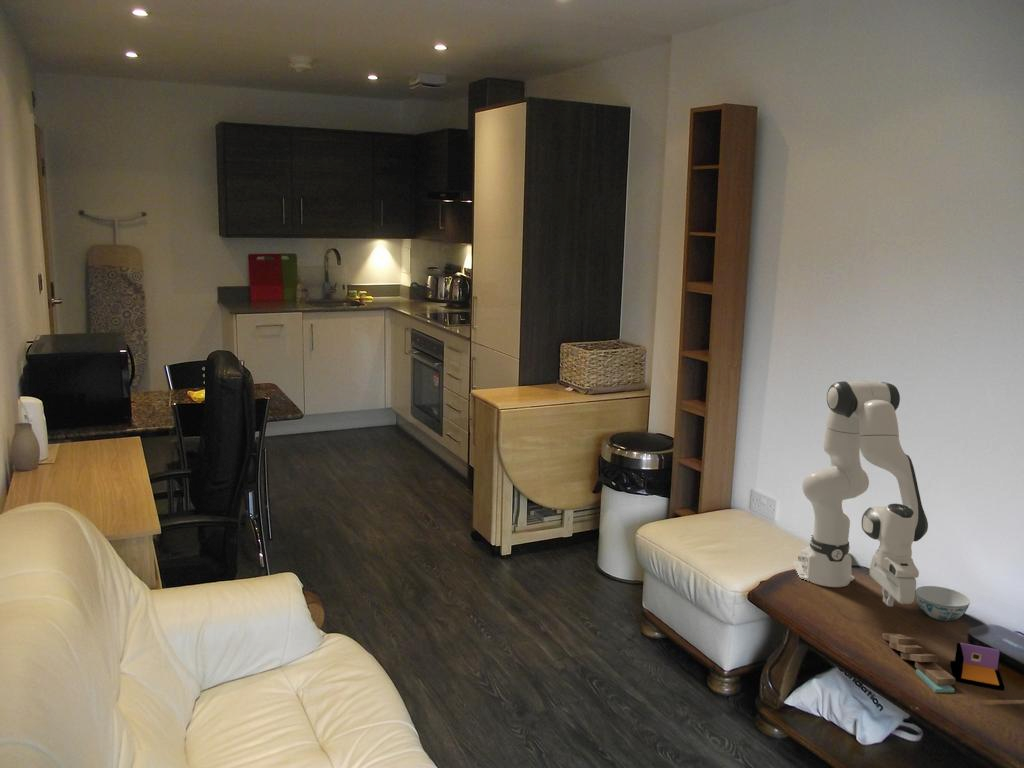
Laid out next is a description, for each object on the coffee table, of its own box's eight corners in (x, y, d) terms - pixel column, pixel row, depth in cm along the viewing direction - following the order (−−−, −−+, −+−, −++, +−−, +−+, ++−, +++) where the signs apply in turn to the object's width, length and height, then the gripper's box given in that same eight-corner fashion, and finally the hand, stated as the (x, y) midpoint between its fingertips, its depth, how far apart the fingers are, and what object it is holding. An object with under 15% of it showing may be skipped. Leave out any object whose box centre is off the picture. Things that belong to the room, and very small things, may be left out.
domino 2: (889, 647, 239) (905, 653, 229) (889, 641, 240) (905, 647, 230) (906, 647, 239) (923, 653, 229) (906, 642, 239) (923, 647, 230)
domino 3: (901, 658, 233) (921, 661, 223) (900, 652, 233) (920, 655, 223) (918, 658, 233) (938, 661, 224) (917, 652, 234) (938, 655, 224)
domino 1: (882, 638, 244) (898, 644, 234) (882, 633, 244) (898, 638, 234) (899, 639, 244) (916, 645, 234) (899, 633, 244) (915, 639, 234)
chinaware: (912, 622, 256) (914, 599, 254) (914, 604, 269) (916, 582, 267) (967, 634, 249) (970, 610, 247) (966, 615, 262) (969, 592, 260)
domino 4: (914, 666, 227) (937, 684, 217) (915, 660, 226) (937, 679, 217) (931, 665, 227) (954, 684, 217) (932, 660, 227) (955, 678, 217)
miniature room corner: (949, 661, 232) (952, 639, 231) (998, 671, 228) (1001, 648, 226) (953, 682, 221) (956, 658, 220) (1005, 692, 217) (1008, 668, 216)
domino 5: (915, 674, 225) (934, 694, 215) (916, 669, 225) (935, 689, 215) (933, 675, 225) (953, 695, 216) (934, 669, 225) (954, 689, 215)
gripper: (867, 546, 252) (861, 588, 255) (900, 574, 232) (893, 620, 235) (887, 546, 252) (881, 589, 255) (922, 574, 232) (915, 620, 235)
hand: (887, 604), depth 245 cm, fingers closed
